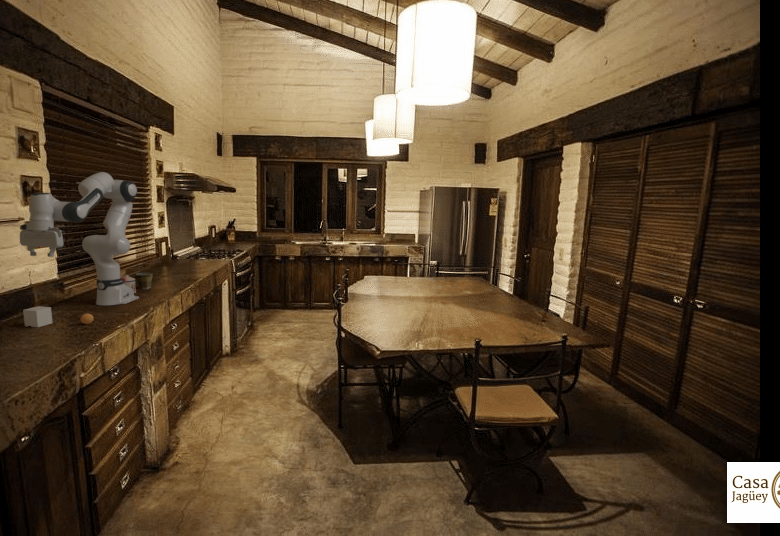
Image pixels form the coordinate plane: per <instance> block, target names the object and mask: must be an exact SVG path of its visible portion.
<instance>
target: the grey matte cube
mask: <svg viewBox="0 0 780 536" xmlns="http://www.w3.org/2000/svg"><path fill="white" fill-rule="evenodd" d="M22 311H23V320H24V327H28V326H31V328H40V327H44V326H47V325H50V324H53V313H52V307H50V306H40V305H39V306H38V305H37V306H35V307H33V306H32V307H29V308H26V309H23V310H22Z"/></svg>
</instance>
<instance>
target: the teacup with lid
mask: <svg viewBox="0 0 780 536" xmlns="http://www.w3.org/2000/svg"><path fill="white" fill-rule="evenodd" d="M123 278H127V281H123V282H124V283H123V284H125V285H127V286H128V287H130V288H132V289H133V291H134V293H135V294H136V293H137V289H136V278H134V277H131V276H130V275H127V274H126V275H124V277H123Z"/></svg>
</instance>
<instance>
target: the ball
mask: <svg viewBox="0 0 780 536" xmlns="http://www.w3.org/2000/svg"><path fill="white" fill-rule="evenodd" d="M80 322H81V323H82V324H85V325H90V324H91V323H93V322H94V316H93V315H92V314H91V313H84V314H82V315H81V317H80Z"/></svg>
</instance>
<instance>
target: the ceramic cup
mask: <svg viewBox="0 0 780 536" xmlns="http://www.w3.org/2000/svg"><path fill="white" fill-rule="evenodd" d="M153 275H154V274H153V272H139V273H136V274H135V280H136V282H137V285H138V289H139V290H150V289H151V288H152V281H153V277H154V276H153ZM149 288H150V289H149Z"/></svg>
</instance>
